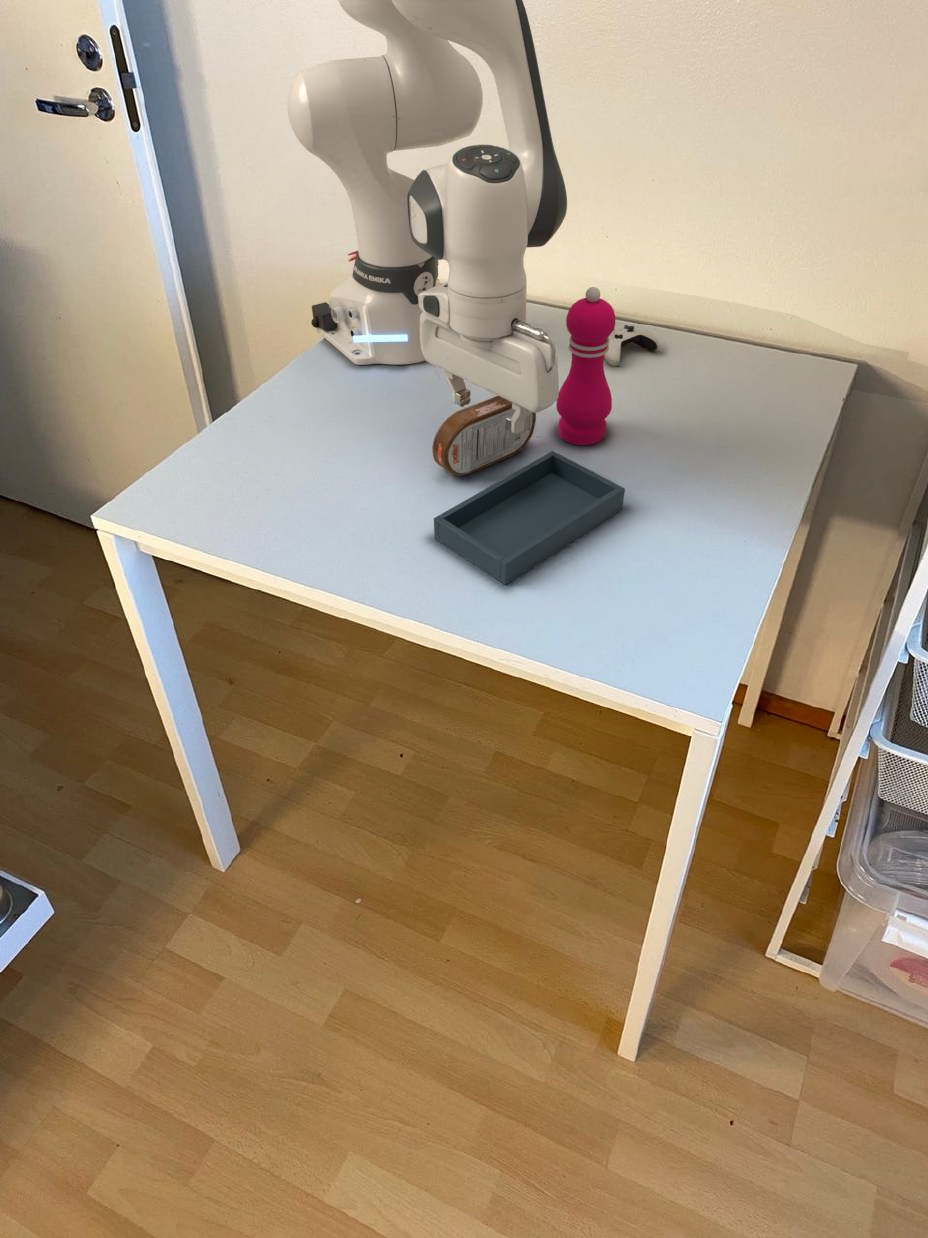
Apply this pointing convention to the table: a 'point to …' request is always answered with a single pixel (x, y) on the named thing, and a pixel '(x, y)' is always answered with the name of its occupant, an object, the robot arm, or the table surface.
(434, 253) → the robot arm
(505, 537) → the tray
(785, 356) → the table surface
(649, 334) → the game controller
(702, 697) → the table surface
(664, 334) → the table surface
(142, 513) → the table surface
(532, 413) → the tin
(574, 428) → the pepper mill
